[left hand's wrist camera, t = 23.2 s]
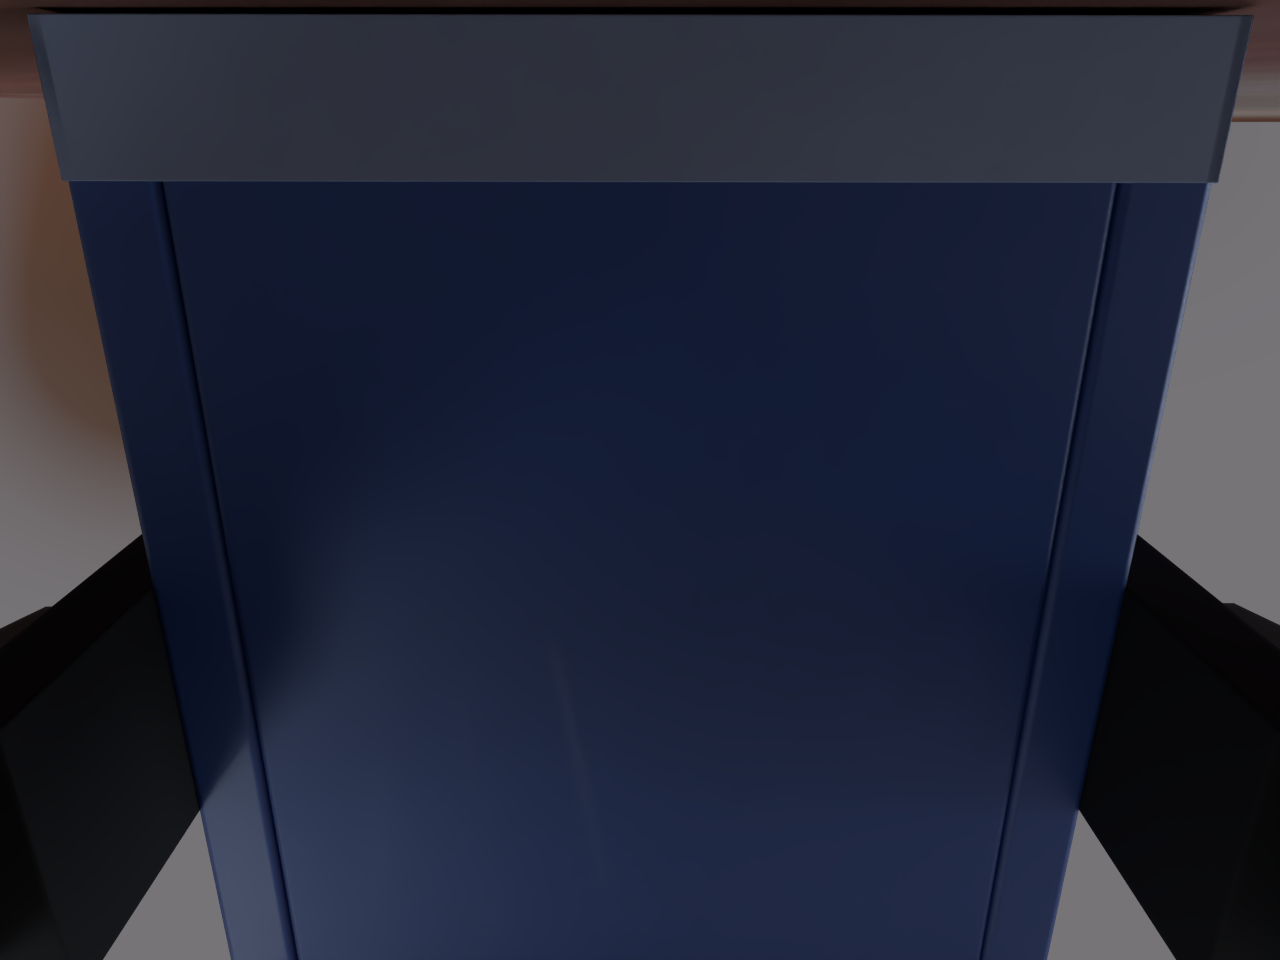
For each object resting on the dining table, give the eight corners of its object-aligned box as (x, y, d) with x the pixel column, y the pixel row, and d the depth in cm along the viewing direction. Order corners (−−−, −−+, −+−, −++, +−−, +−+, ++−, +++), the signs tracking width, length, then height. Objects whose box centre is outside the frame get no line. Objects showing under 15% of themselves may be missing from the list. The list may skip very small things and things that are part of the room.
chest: (846, 97, 21) (816, 498, 25) (435, 96, 21) (464, 497, 25) (1255, 14, 7) (1049, 977, 11) (25, 12, 7) (228, 975, 11)
